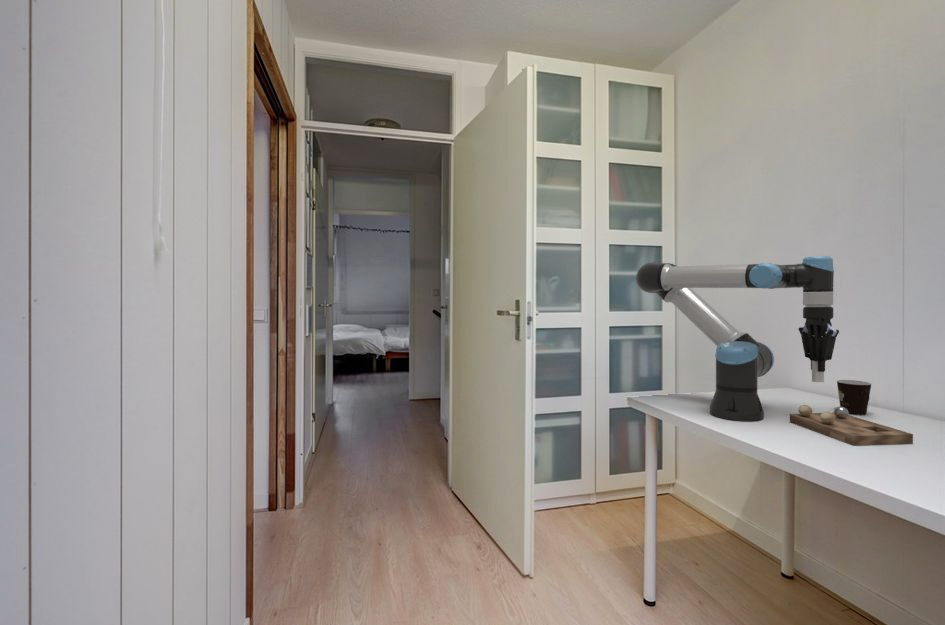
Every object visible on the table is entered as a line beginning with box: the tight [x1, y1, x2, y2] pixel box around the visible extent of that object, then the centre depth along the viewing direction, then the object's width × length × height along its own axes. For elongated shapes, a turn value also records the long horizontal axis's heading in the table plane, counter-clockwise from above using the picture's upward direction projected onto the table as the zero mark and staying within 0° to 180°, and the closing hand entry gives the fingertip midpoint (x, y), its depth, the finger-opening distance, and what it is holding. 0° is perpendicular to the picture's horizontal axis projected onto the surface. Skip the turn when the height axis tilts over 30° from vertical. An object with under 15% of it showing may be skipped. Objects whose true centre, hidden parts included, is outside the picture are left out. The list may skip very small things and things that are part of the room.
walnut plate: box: [789, 412, 914, 446], centre depth 128 cm, size 16×22×2 cm
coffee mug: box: [836, 379, 872, 416], centre depth 146 cm, size 12×9×10 cm
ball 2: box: [820, 411, 835, 424], centre depth 127 cm, size 3×3×3 cm
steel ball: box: [833, 405, 850, 418], centre depth 133 cm, size 3×3×3 cm
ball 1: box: [797, 404, 813, 416], centre depth 135 cm, size 3×3×3 cm
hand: (817, 381), depth 141 cm, fingers closed
